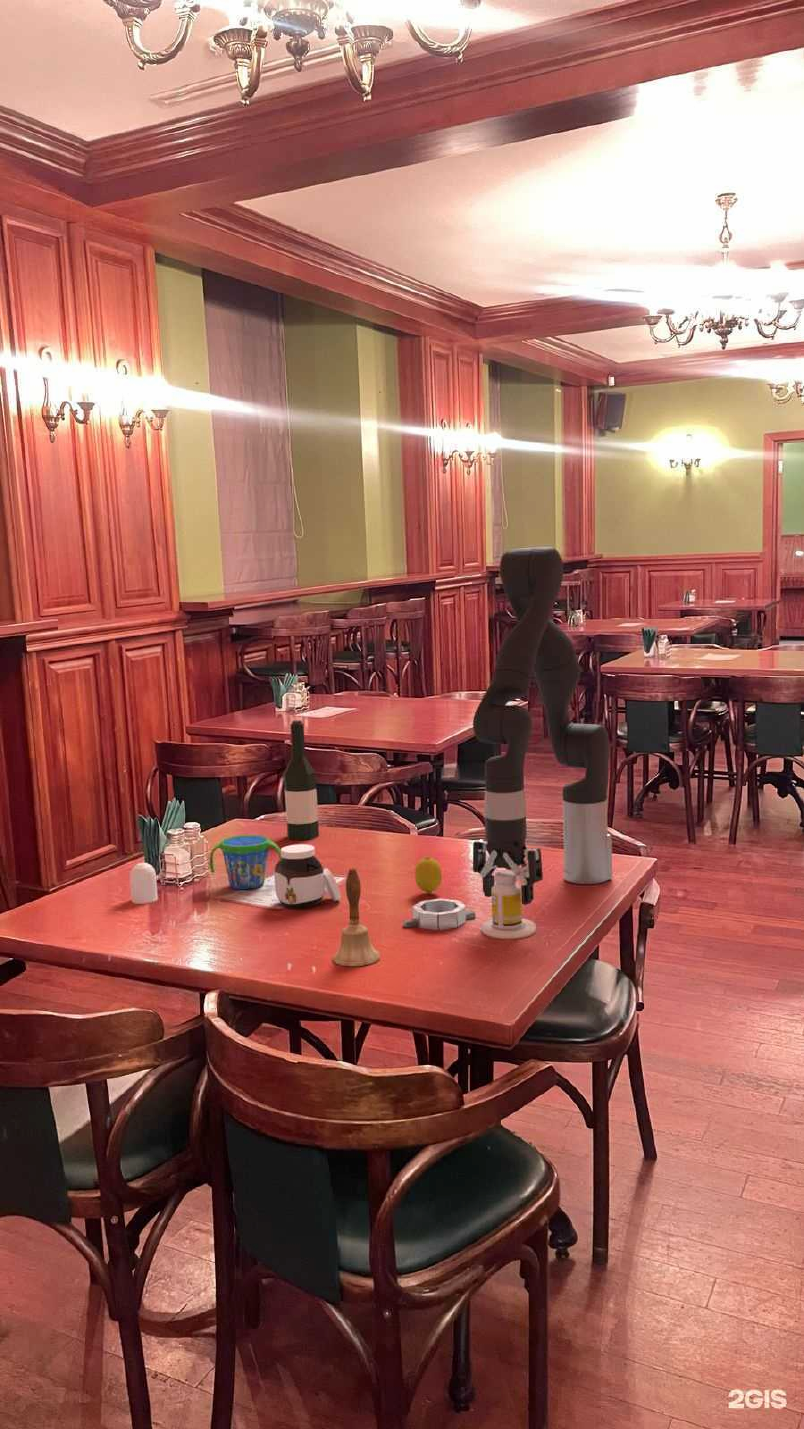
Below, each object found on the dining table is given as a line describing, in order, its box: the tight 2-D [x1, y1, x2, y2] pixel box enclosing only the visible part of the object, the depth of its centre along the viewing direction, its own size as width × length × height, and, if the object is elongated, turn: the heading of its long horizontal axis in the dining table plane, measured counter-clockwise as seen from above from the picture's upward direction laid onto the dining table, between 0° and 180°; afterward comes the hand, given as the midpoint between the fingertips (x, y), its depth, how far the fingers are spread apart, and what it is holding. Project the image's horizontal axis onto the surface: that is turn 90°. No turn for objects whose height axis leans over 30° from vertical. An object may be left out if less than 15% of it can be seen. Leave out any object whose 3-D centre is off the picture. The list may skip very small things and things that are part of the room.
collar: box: [402, 898, 476, 931], centre depth 211 cm, size 14×9×3 cm
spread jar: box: [274, 843, 342, 910], centre depth 227 cm, size 12×11×12 cm
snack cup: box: [208, 834, 282, 890], centre depth 241 cm, size 16×10×10 cm
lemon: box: [414, 856, 443, 895], centre depth 229 cm, size 6×6×8 cm
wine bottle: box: [283, 719, 320, 841], centre depth 283 cm, size 8×8×30 cm
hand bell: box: [332, 868, 381, 968], centre depth 193 cm, size 8×8×16 cm
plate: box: [481, 918, 537, 940], centre depth 205 cm, size 10×10×1 cm
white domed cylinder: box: [129, 862, 159, 905], centre depth 234 cm, size 5×5×8 cm
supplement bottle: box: [491, 870, 522, 929], centre depth 204 cm, size 5×5×10 cm
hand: (507, 899), depth 204 cm, fingers open, 8 cm apart
